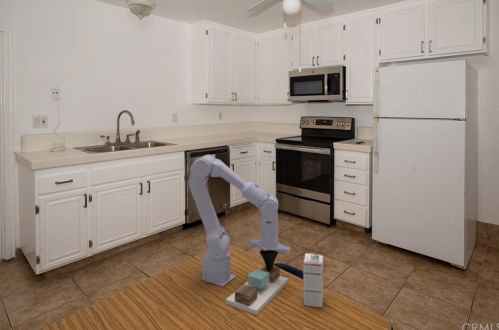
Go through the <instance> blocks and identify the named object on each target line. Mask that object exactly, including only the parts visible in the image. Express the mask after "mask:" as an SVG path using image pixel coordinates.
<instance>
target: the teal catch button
mask: <svg viewBox="0 0 499 330" xmlns="http://www.w3.org/2000/svg"><path fill="white" fill-rule="evenodd" d="M247 281H248V285H251V286H254V287H257V288H260V289H262V288H263V287H264V286H265V285H266V284H267V283H268V282H269V273H268V272H265V271H261V269H257V268H255V269H254V270H253V271H252V272H250V273H249V274H248V275H247Z"/></svg>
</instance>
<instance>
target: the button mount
mask: <svg viewBox="0 0 499 330" xmlns="http://www.w3.org/2000/svg"><path fill="white" fill-rule="evenodd" d="M288 283H289V278H287V277H284V276H281V275H280V276H279V277H278V278H277V279H276V280H275V281H274V282H273V283H271V282H268V283H267V284H266V285H265V286H264V287H263V288H262V289H260V288H257V287H255V288H257V299H256V300H255V301H254V302H253V303H252V304H251V305H250V306H247V305H244V304H242V303H239V302H236V301H235V291H234V292H233V293H231V294H230V295H229V296H228V297H227V298H226V299H225V304H226V305H228V306H230V307H234V308H236V309H239V310H242V311H244V312H246V313H249V314H253V315H255V316H258V315H259V313H261V311H262V310H263V309H264V308H265V307H266V306H267V305H268V304H269V303H270V302H271V301H272V300H273V299H274V298H275V297H276V296H277V295H278V294H279V293H280V291H281V290H283V289H284V287H285V286H286V285H287V284H288ZM244 284H246V285H248V280H247V281H246V282H245V283H244ZM249 286H251V285H249ZM252 287H254V286H252Z"/></svg>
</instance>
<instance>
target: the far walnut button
mask: <svg viewBox="0 0 499 330" xmlns="http://www.w3.org/2000/svg"><path fill="white" fill-rule="evenodd" d="M260 270H261V271H265V272H268V273H269V282H271V283H273V282H274V281H275V280H276V279H277V278H278V277H279V276H281V275H280V272H281V271H280V270H281V269H280V267H278V266H274V265H273V269H272V270H271V271H269V270H267V269H266V265H265V266H264V265H263V267H262V268H261V269H260Z"/></svg>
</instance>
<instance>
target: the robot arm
mask: <svg viewBox="0 0 499 330" xmlns="http://www.w3.org/2000/svg"><path fill="white" fill-rule="evenodd" d="M189 171H190V172H189V173H190V174H189V180H188V188H189V190H190V193H191V195H192V198H193V200H194V202H195V203H194V204H195V206H196V209H197V211H198V214H199V216H200V220H201V223H202V224H203V227H204V229H205V232H206V237H205V239H206V240H205V241H206V245H207V249H206V250H207V251H206V253H205V255H204V256H203V258H202V277H201V280H203V281H204V282H208V283H210V284H214V285H217V286H219V287H224V286H226V285H227V284H229V283H230V282H231V281H232V280H234V279H235V278H236V276H237V275H236V274H233V273H231V252H230V251H229V247H230V246H231V237H230V236H229V235H228V233H227V232H226V230H225V228H224V227H222V225H221V223H220V221H219V218H218V216H217V213H216V210H215V207H214V205H213V202H212V199H211V197H210V194H209V192H208V189H207V186H206V184H207V181H208V180H209V178H210V177H211V178H222V179H223V180H225V181H226V182H228V183H229V184H231V185H232V186H234V187H236V188H237V189H238V190H240V192H241V196H242V197H243V198H244V199H246V200H247V201H248V202H250V203H251V204H252V205H254V206H255V207H256V208H258V209H259V212H260V213H261V218H260V226H261V227H260V239H255V238H252V239H251V240H250V241H249V246H250V247H257V248H261V250H260V251H259V254H260V256H261V257H262V260H263V261H264V264H265V266H266V269H267V270H269V271H271V270H272V269H273V266H274V264H275V261H276V258H277V256H278V254H279V253H281V254H285V255H286V256H288V255H290V254H291V247H290V246H286V245H284V244H282V243H280V242H279V216H278V215H279V214H278V211H279V200H278V198H277V197H276V196H275V194H271V193H270V192H266V191H265V190H263V189H262V188H261V187H260V186H259V183H258V182H255V183H254V182H253V181H248V182H247V181H245V180H244V179H243V178H242V177H241V176H240V175H239V174H237V173H236V172H235V171H234V170H233V169H231V168H230V167H229V166H228V165H227V164H225V163H224V162H223V161H222V160H221V159H218V158H216V156H214V155H212V154H205V155H202V156H201V157H198V158H196V159H195V160H194V161H193V163H192V164H191V165H190V167H189Z"/></svg>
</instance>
